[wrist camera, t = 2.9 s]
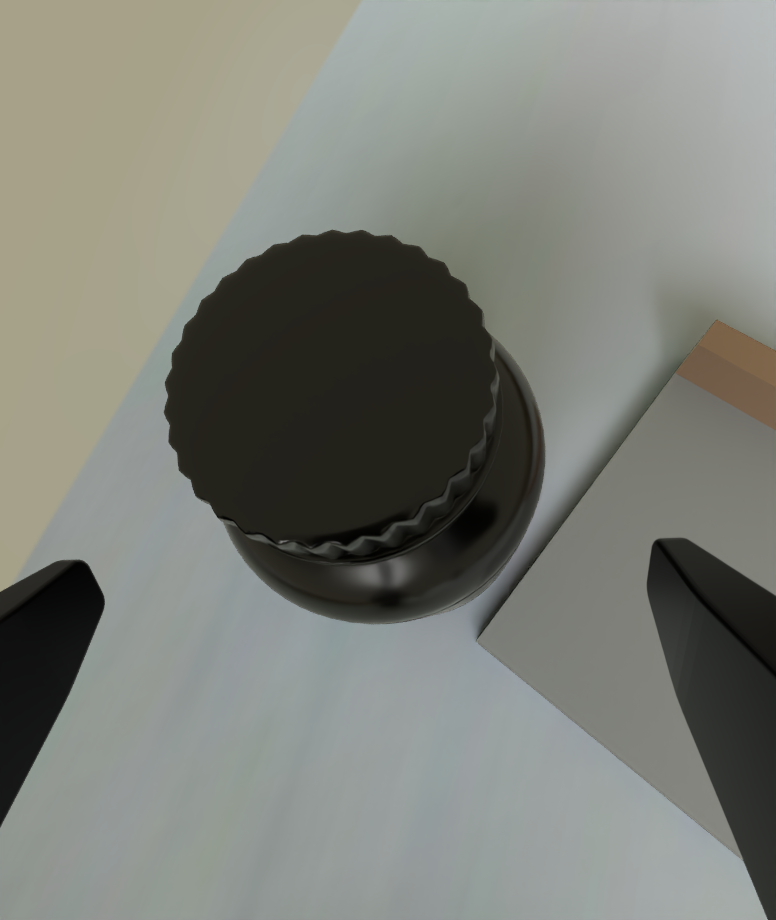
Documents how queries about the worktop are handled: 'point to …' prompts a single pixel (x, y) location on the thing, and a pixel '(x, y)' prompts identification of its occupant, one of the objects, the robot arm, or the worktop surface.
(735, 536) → the shelf board
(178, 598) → the worktop surface
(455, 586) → the supplement bottle
